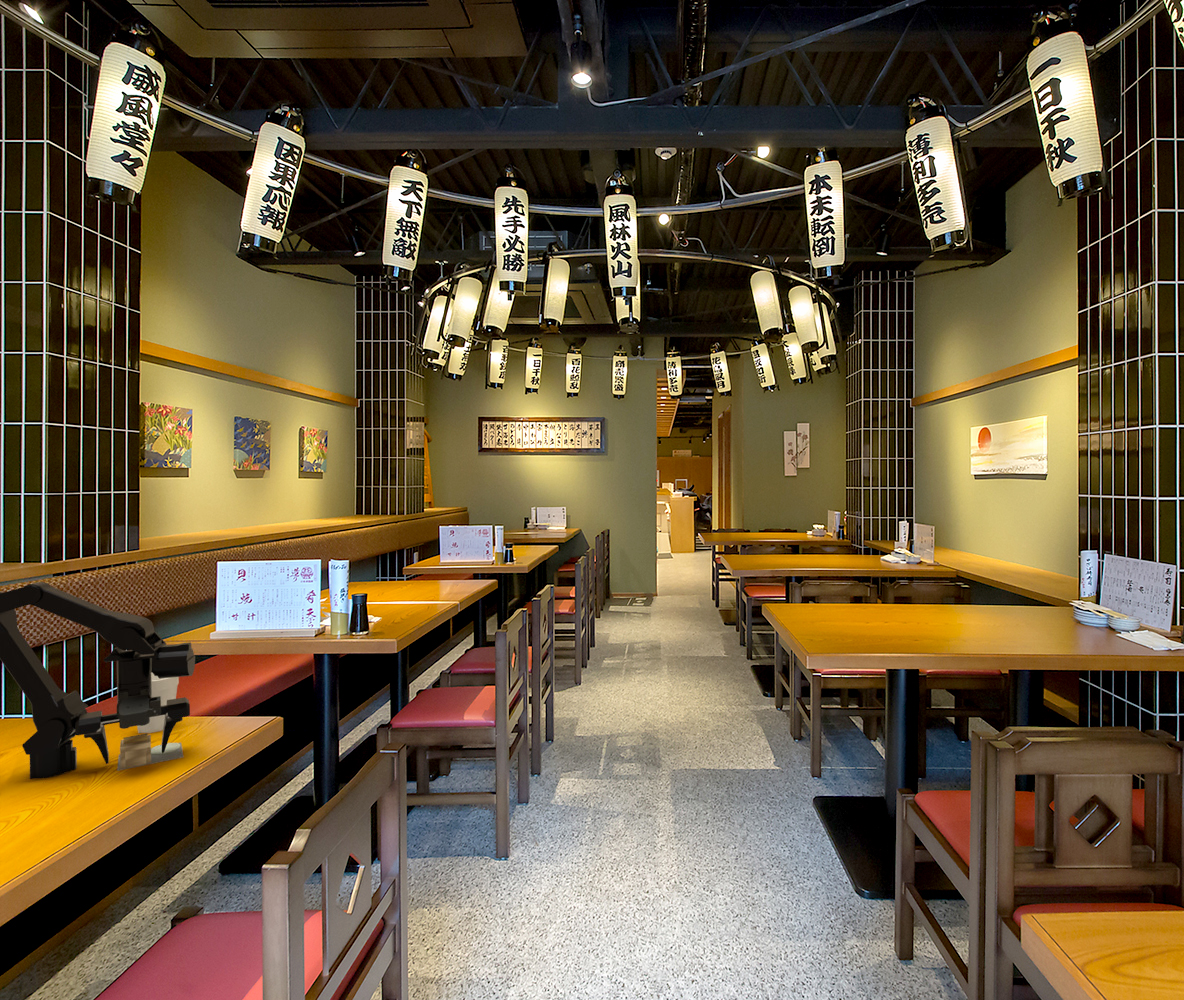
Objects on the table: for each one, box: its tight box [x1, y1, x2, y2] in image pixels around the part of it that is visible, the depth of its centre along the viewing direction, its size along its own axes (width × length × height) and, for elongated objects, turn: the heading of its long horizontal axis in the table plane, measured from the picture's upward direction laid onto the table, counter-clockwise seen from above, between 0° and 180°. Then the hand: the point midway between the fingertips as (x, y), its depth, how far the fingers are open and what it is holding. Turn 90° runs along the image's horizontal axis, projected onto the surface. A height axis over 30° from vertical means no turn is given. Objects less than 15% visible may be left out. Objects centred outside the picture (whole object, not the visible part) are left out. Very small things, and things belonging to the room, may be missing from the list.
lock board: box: [116, 742, 184, 772], centre depth 134 cm, size 11×10×4 cm
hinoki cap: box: [119, 733, 152, 769], centre depth 131 cm, size 5×5×5 cm
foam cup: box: [136, 672, 180, 734], centre depth 151 cm, size 10×9×13 cm
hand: (135, 757), depth 131 cm, fingers open, 9 cm apart
